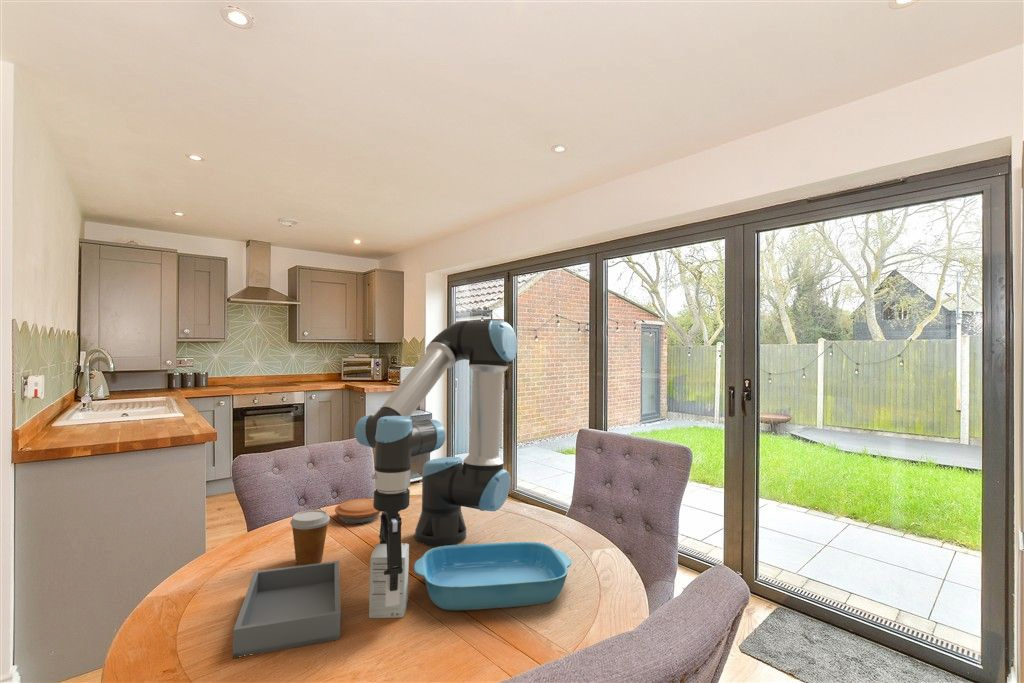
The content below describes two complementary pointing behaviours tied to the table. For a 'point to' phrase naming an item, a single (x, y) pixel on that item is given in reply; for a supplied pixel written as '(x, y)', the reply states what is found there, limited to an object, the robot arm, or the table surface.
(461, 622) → the table surface
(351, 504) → the pie
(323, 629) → the bin
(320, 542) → the disposable coffee cup
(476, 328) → the robot arm
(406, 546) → the supplement box
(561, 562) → the casserole dish
